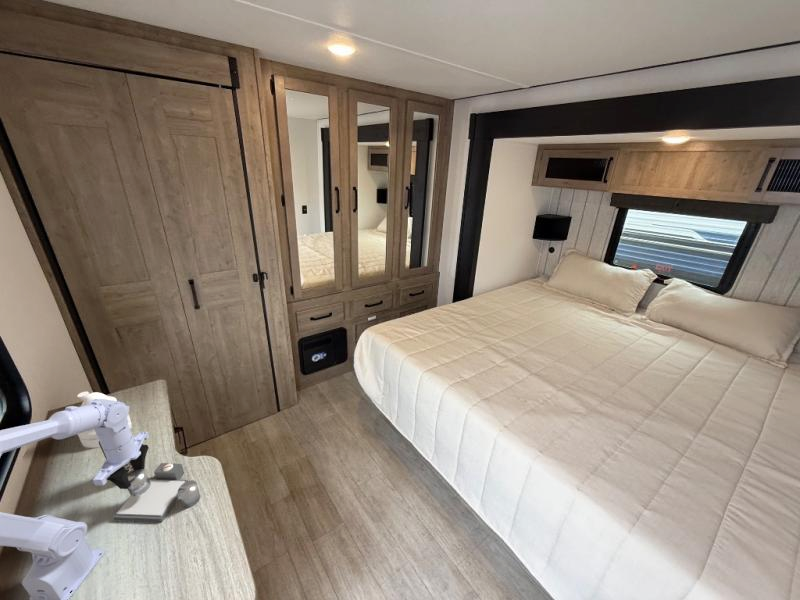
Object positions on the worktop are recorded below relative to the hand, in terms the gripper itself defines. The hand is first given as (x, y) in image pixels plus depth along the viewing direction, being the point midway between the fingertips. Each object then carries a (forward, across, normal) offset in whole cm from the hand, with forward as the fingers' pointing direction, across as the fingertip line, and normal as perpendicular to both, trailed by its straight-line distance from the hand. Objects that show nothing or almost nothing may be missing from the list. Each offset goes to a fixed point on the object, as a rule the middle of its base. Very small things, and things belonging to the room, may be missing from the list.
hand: (132, 478), depth 82 cm
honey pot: (+9, +22, +28) cm, 37 cm away
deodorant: (+9, +8, +9) cm, 15 cm away
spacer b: (+8, 0, -14) cm, 16 cm away
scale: (+8, +1, -3) cm, 9 cm away
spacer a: (+4, 0, -1) cm, 4 cm away
